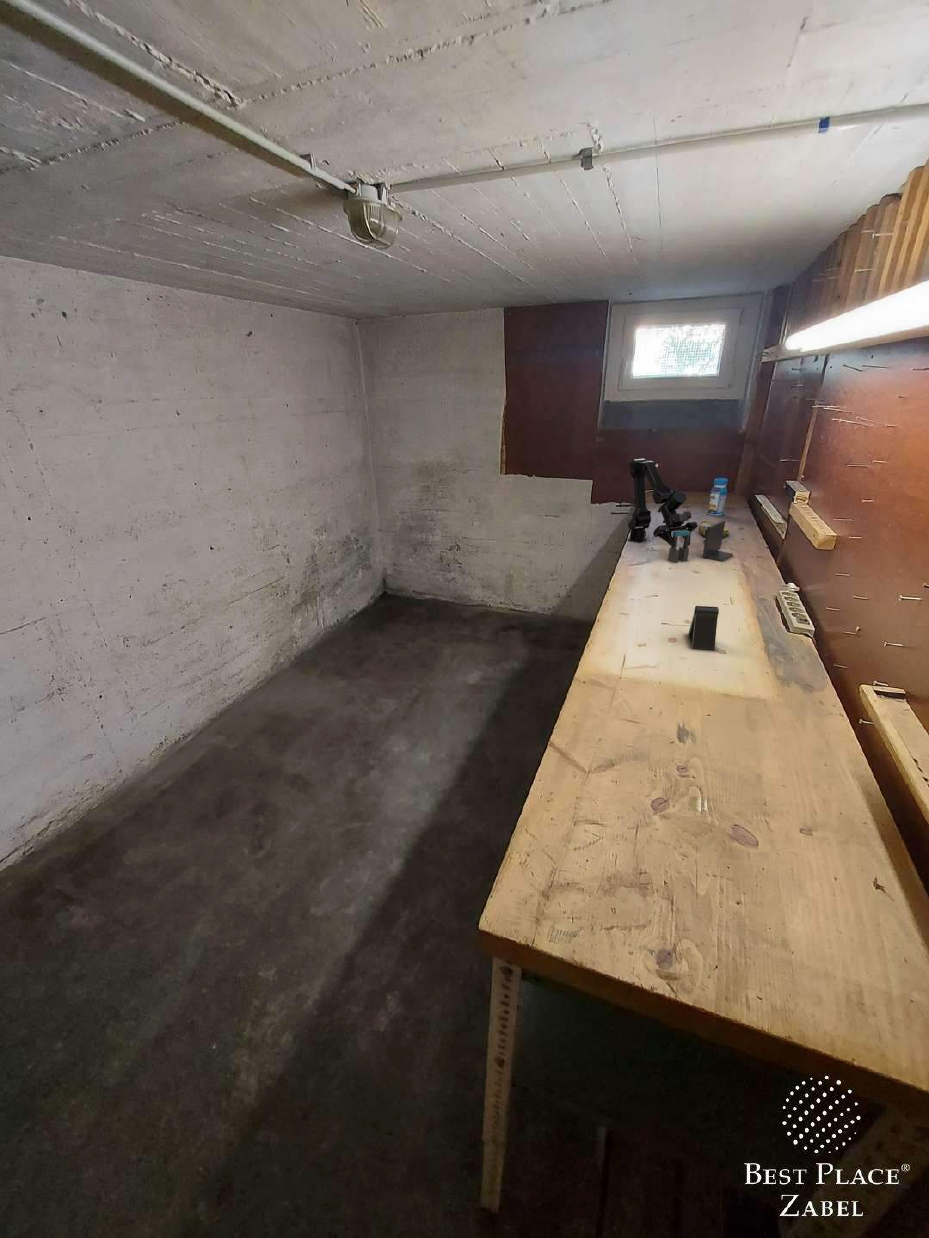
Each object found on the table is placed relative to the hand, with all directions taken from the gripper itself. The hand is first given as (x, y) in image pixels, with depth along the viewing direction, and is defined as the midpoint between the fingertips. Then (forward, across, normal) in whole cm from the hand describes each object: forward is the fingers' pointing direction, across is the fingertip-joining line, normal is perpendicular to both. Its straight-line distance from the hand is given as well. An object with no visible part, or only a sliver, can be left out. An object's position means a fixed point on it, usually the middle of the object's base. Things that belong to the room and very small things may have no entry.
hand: (681, 546), depth 210 cm
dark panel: (+4, +17, +6) cm, 19 cm away
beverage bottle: (-39, +67, +50) cm, 92 cm away
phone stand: (+52, -38, -42) cm, 77 cm away
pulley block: (-13, +36, +23) cm, 44 cm away
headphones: (+4, 0, +6) cm, 7 cm away
